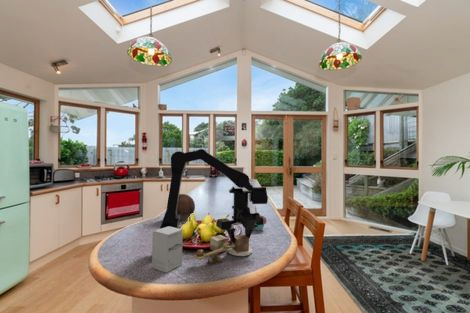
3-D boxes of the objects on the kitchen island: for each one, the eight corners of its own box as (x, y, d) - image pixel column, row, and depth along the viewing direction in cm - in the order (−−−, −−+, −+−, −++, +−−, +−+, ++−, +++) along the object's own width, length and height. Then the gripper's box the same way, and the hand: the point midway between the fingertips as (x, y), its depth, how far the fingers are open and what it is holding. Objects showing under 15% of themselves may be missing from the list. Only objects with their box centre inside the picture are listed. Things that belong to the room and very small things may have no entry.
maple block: (217, 253, 98) (217, 240, 98) (210, 249, 102) (210, 237, 102) (227, 250, 101) (227, 238, 101) (220, 246, 105) (220, 234, 105)
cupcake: (247, 230, 128) (248, 206, 128) (253, 225, 136) (253, 203, 136) (264, 232, 125) (264, 208, 125) (268, 227, 133) (268, 205, 133)
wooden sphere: (185, 215, 157) (185, 191, 157) (199, 220, 147) (200, 194, 146) (163, 219, 146) (163, 193, 146) (177, 225, 136) (178, 197, 136)
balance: (196, 269, 85) (196, 252, 84) (192, 263, 88) (192, 248, 88) (236, 260, 92) (237, 245, 92) (231, 256, 96) (231, 241, 96)
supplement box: (166, 273, 81) (167, 234, 81) (151, 267, 85) (151, 230, 85) (182, 265, 87) (183, 228, 87) (167, 260, 91) (168, 225, 91)
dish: (234, 259, 93) (235, 256, 93) (223, 250, 101) (224, 247, 101) (256, 254, 97) (256, 251, 97) (244, 246, 106) (244, 243, 106)
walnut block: (237, 252, 96) (237, 239, 96) (231, 248, 100) (231, 235, 100) (248, 250, 98) (249, 238, 98) (242, 246, 103) (242, 234, 103)
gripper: (228, 210, 88) (227, 255, 88) (272, 206, 96) (271, 246, 97) (215, 204, 98) (215, 244, 98) (256, 201, 106) (255, 237, 106)
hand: (240, 243), depth 99 cm, fingers open, 6 cm apart
